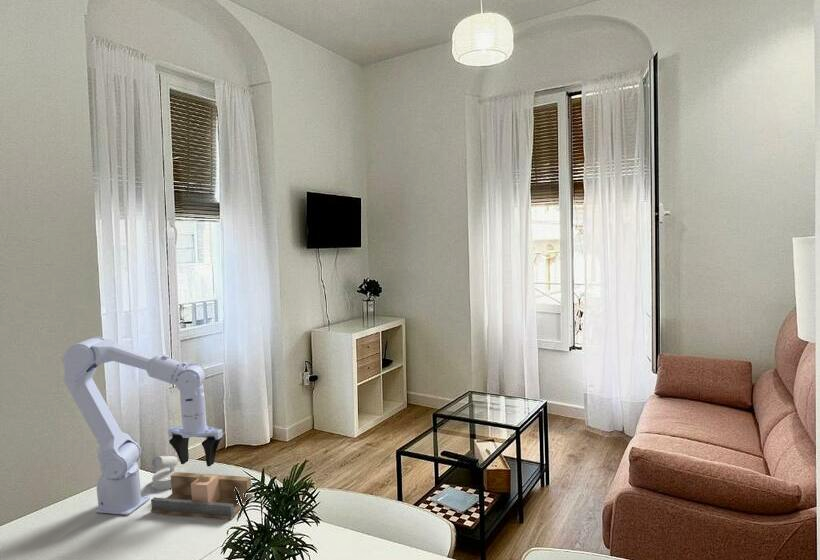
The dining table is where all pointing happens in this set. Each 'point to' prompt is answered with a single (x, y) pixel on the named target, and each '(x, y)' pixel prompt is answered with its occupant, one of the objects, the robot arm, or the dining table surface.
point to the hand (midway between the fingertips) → (197, 463)
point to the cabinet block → (206, 488)
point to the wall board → (227, 495)
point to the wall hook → (165, 471)
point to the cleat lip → (192, 506)
